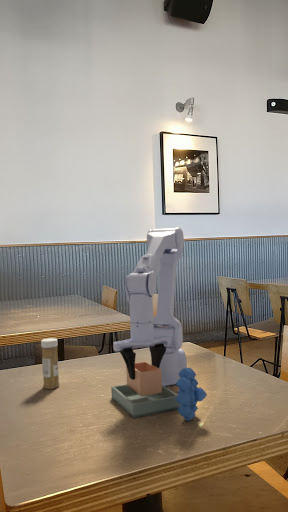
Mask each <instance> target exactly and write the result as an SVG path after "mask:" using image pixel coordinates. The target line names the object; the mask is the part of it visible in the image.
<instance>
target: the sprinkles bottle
mask: <svg viewBox="0 0 288 512" xmlns="http://www.w3.org/2000/svg"><path fill="white" fill-rule="evenodd" d="M58 345H59V344H58V339H57V338H55V337H54V338H53V337H48V338H43V339H41V341H40V347H41V355H42V356H41V363H42V376H43V378H42V381H43V385H42V386H43V389H47V390H52V389H56V388H58V387H59V386H60V382H59V381H60V378H59V375H60V374H59V358H58Z"/></svg>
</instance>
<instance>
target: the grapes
mask: <svg viewBox="0 0 288 512" xmlns="http://www.w3.org/2000/svg"><path fill="white" fill-rule="evenodd" d="M178 375H179V376H180V379H179V380H178V381H177V383H176V384H175V385H176V387H178V391H177V392H176V394H178V395H177V396H176V400H177V401H178V403H179V404H180V407H179V408H178V409H177V410H176V411H177V412H178V414H179V415H180V416H181V417H182V418H183V419H184V420H185V421H186V422H189V421H192V420H193V419H194V417H195V416H196V412H197V410H198V409H199V407H198V406H197V405H198V404H197V403H198V402H202V401H204V399H206V397H207V396H208V394H207V393H206V391H205V390H204V388H202V387H198V384H199V382H198V381H197V379H196V376H197V374H196V372H195V371H194V369H193V368H191V367H187V368H183V369H182V370H181V371H180V372H179V374H178Z"/></svg>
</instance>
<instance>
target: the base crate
mask: <svg viewBox="0 0 288 512" xmlns="http://www.w3.org/2000/svg"><path fill="white" fill-rule="evenodd" d="M177 395H178V394H177V392H175V391H173V390H171V389H169V387H167V386H163V385H162V393H157V394H151V395H146V396H140V395H138V394H137V393H136V392H134V391H133V390H132V389H131V388H129V387H128V386H127V383H125V384H120V385H114V386H112V385H111V399H112V401H114V402H115V403H116V404H117V405H118V406H120V407H121V409H123V410H124V411H125V412H126V413H127V414H128V415H129V416H130V417H132V419H136V418H137V419H138V418H141V417H147V416H151V415H157V414H161V413H168V412H171V411H178V410H177V409H178V408H179V407H180V404H179V403H178V401H177V400H176V396H177Z"/></svg>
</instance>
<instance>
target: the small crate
mask: <svg viewBox="0 0 288 512" xmlns="http://www.w3.org/2000/svg"><path fill="white" fill-rule="evenodd" d="M125 368H126V371H125V372H126V384H127V386H128V387H129V388H131V389H132V390H133V391H134V392H136V393H137V394H138V395H140V396H146V395H151V394H157V393H162V379H161V369H159V368H157V367H155V366H154V365H152V363H151V362H148V361H146V360H144V361H140V362H139V361H138V362H135V379H134V380H132V379H131V378H129V373H128V369H127V366H126V367H125Z"/></svg>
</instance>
